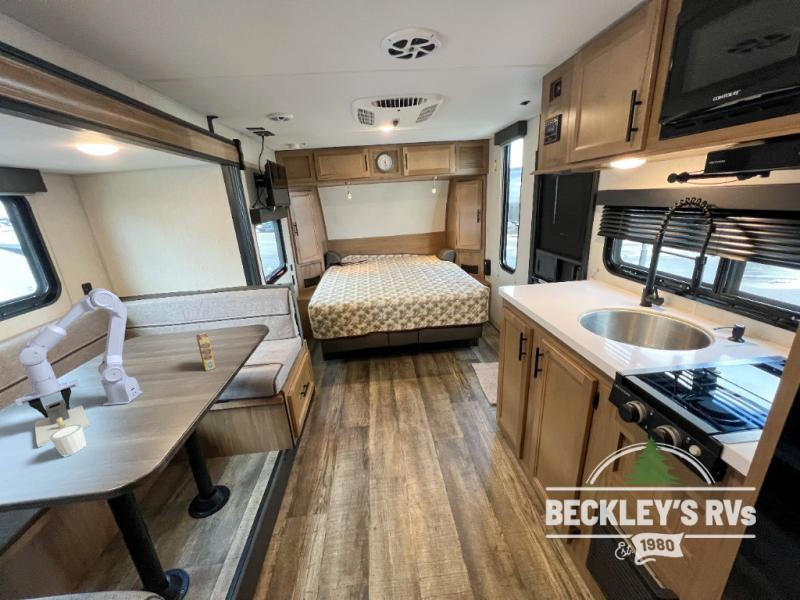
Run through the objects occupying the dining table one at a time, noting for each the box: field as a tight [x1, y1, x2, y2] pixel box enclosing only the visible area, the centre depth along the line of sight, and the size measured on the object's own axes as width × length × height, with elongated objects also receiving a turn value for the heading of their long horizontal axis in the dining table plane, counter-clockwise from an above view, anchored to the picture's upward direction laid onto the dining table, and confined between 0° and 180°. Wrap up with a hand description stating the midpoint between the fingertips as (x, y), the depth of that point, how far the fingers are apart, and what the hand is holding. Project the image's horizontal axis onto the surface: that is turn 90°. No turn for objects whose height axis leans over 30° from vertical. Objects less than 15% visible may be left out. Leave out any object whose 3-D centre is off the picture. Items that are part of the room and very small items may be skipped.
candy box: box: [195, 332, 216, 371], centre depth 142 cm, size 9×4×15 cm, turn 39°
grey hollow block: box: [44, 399, 70, 424], centre depth 109 cm, size 6×4×5 cm
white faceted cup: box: [50, 424, 87, 456], centre depth 94 cm, size 7×7×7 cm
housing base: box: [34, 405, 91, 448], centre depth 107 cm, size 18×12×5 cm, turn 51°
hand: (57, 412), depth 109 cm, fingers open, 5 cm apart
